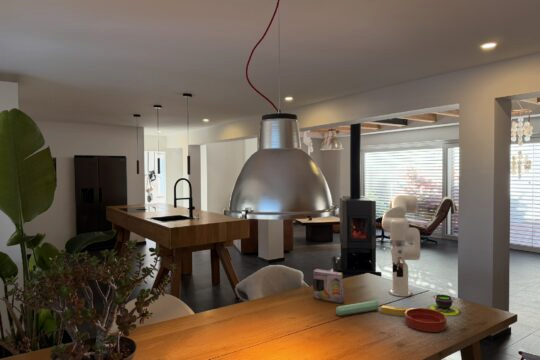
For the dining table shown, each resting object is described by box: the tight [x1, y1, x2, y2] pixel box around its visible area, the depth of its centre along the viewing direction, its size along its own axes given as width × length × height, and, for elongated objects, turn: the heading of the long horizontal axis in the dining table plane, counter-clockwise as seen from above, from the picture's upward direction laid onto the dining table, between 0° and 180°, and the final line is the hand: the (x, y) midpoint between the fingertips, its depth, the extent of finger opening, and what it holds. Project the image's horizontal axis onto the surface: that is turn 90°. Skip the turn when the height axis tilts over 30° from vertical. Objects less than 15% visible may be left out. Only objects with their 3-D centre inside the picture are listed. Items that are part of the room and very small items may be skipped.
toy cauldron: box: [428, 290, 460, 316], centre depth 209 cm, size 15×15×11 cm
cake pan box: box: [312, 268, 345, 304], centre depth 229 cm, size 19×5×18 cm, turn 53°
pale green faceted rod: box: [335, 299, 380, 317], centre depth 208 cm, size 6×6×25 cm
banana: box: [380, 305, 412, 317], centre depth 205 cm, size 5×16×3 cm, turn 71°
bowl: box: [404, 307, 448, 333], centre depth 190 cm, size 20×20×5 cm
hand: (397, 274), depth 202 cm, fingers open, 9 cm apart
